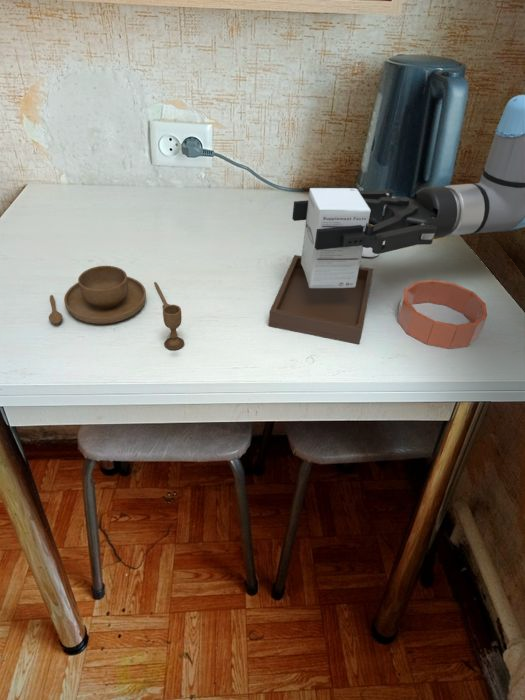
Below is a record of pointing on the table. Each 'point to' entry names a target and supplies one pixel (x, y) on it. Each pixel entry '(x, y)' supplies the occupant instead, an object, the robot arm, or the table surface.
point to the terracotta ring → (436, 330)
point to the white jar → (368, 252)
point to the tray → (321, 306)
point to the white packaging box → (329, 213)
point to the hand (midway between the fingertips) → (305, 224)
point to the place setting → (113, 301)
